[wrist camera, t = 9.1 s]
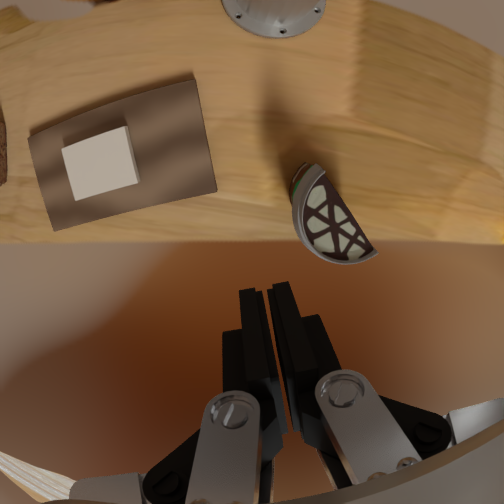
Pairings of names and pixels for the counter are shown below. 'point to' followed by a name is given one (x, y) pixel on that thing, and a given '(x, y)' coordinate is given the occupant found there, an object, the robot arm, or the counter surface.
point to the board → (144, 148)
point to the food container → (326, 219)
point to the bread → (3, 154)
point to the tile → (101, 163)
